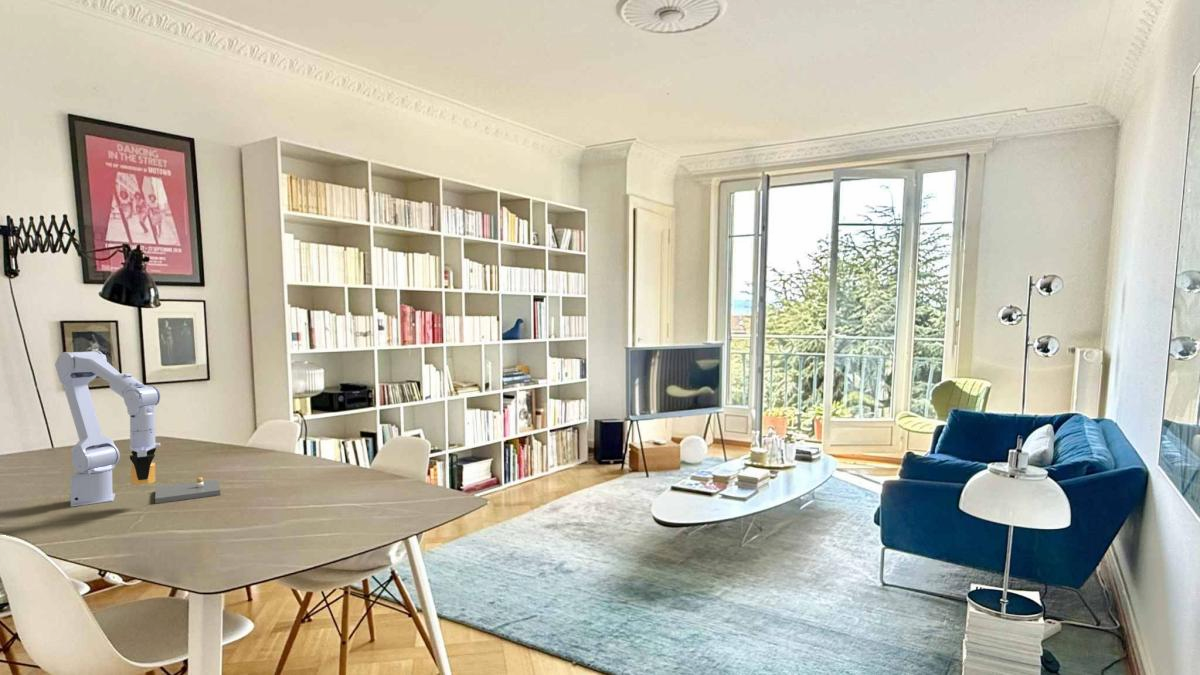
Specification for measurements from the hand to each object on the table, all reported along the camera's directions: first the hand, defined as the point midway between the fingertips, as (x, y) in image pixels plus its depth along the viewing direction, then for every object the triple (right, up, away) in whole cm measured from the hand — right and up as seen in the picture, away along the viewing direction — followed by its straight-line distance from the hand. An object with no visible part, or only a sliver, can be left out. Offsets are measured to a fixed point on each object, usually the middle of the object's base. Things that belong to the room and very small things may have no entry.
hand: (143, 477), depth 173 cm
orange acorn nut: (0, -1, 0) cm, 1 cm away
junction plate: (+4, -8, +13) cm, 16 cm away
